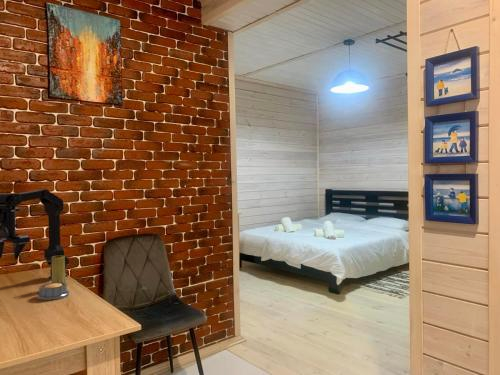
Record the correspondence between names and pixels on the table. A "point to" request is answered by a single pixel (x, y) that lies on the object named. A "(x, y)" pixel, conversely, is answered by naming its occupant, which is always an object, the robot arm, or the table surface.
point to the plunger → (53, 285)
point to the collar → (52, 292)
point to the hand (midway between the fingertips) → (7, 258)
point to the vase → (58, 269)
